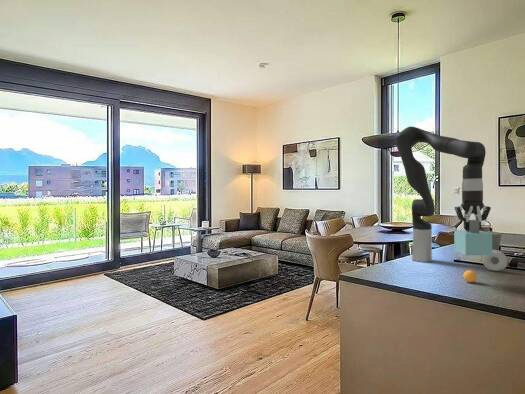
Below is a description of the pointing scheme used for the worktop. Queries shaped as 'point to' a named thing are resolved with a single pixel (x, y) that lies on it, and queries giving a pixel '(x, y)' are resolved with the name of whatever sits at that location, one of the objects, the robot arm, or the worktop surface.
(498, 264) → the donut
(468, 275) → the ball
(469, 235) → the mint green box
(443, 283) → the worktop surface
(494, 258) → the coffeepot
